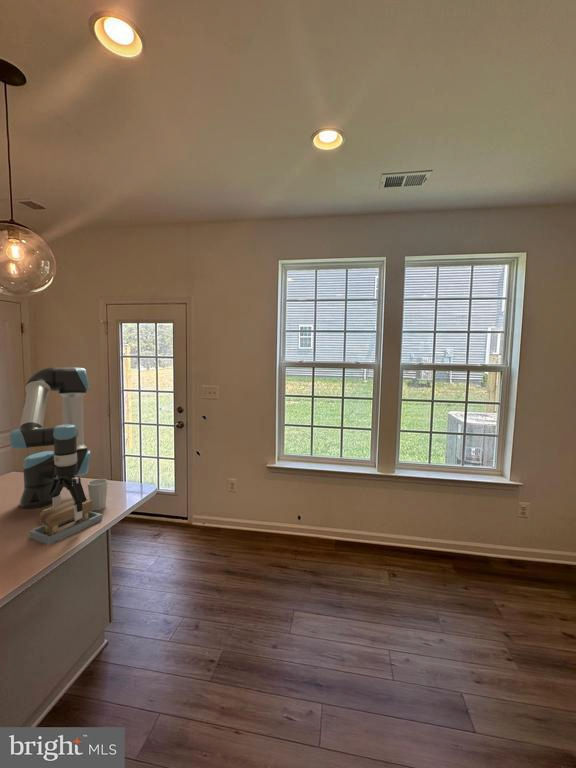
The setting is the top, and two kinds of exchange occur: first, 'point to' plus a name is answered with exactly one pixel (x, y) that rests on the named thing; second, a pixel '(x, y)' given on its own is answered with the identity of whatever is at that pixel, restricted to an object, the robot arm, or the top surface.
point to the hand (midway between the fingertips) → (67, 515)
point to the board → (62, 513)
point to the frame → (57, 536)
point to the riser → (61, 504)
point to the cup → (98, 493)
